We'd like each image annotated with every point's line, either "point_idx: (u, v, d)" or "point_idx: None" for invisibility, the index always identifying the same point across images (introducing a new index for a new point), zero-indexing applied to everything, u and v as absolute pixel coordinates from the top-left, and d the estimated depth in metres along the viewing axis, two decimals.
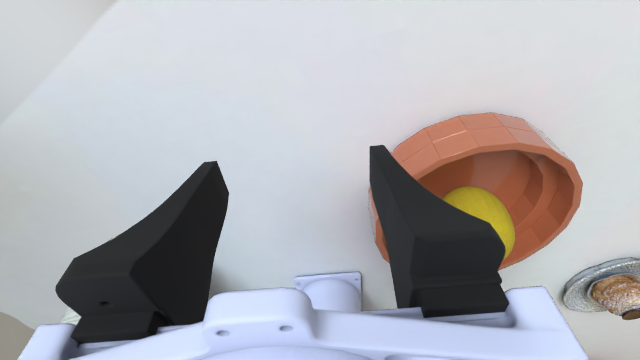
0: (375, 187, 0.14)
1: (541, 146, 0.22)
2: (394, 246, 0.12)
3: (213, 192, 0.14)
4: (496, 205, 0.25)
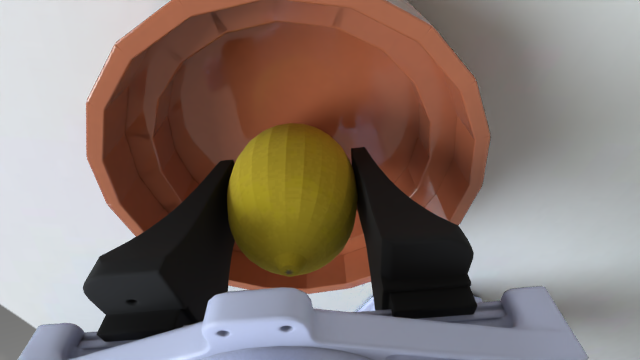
0: None
1: (105, 62, 0.10)
2: (370, 248, 0.12)
3: None
4: (241, 165, 0.12)
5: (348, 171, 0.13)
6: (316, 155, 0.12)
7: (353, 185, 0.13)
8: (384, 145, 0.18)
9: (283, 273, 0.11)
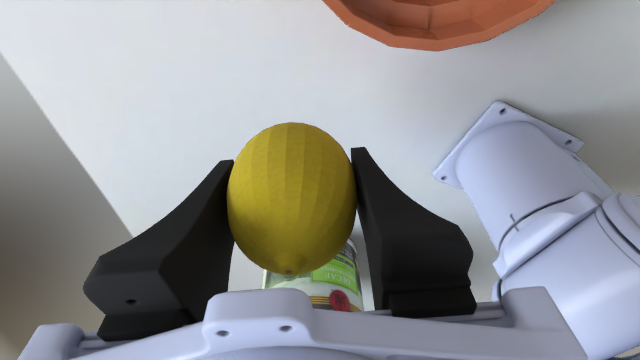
0: None
1: None
2: (370, 248, 0.12)
3: None
4: (240, 165, 0.12)
5: (348, 170, 0.13)
6: (316, 154, 0.12)
7: (353, 184, 0.13)
8: None
9: (283, 272, 0.11)
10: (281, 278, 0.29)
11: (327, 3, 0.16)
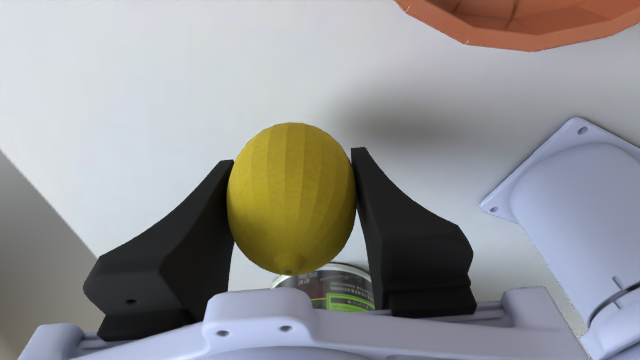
0: None
1: None
2: (370, 248, 0.12)
3: None
4: (240, 165, 0.12)
5: (348, 170, 0.13)
6: (316, 154, 0.12)
7: (353, 184, 0.13)
8: None
9: (283, 272, 0.11)
10: None
11: None
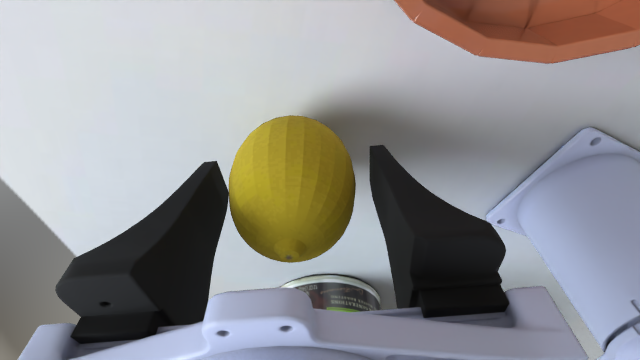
0: (375, 187, 0.14)
1: None
2: (394, 246, 0.12)
3: (213, 192, 0.14)
4: (242, 156, 0.13)
5: (346, 161, 0.13)
6: (315, 145, 0.12)
7: (351, 175, 0.13)
8: None
9: (283, 258, 0.12)
10: None
11: None
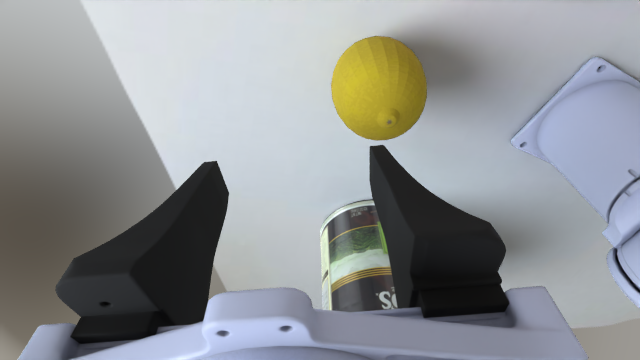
0: (375, 187, 0.14)
1: None
2: (394, 246, 0.12)
3: (213, 192, 0.14)
4: (348, 58, 0.18)
5: (421, 65, 0.18)
6: (403, 49, 0.18)
7: (424, 75, 0.18)
8: None
9: (385, 123, 0.17)
10: (350, 250, 0.28)
11: None
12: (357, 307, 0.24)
